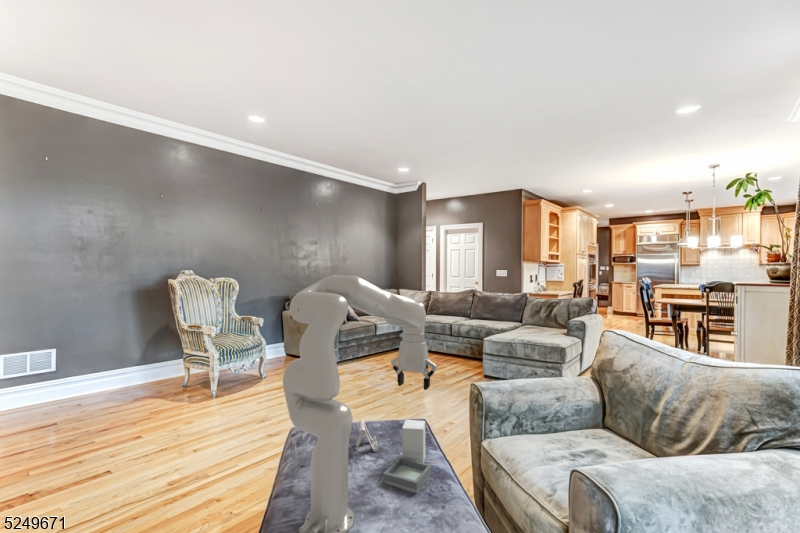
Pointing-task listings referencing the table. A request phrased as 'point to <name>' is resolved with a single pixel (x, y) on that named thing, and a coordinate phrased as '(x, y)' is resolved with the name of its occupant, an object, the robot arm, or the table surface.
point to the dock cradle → (407, 474)
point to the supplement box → (413, 440)
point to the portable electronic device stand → (363, 432)
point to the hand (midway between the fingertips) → (413, 386)
